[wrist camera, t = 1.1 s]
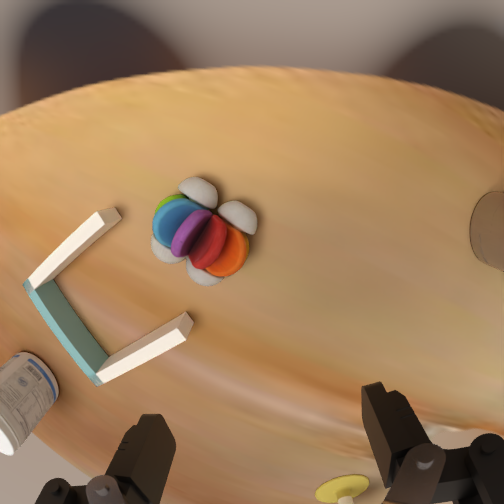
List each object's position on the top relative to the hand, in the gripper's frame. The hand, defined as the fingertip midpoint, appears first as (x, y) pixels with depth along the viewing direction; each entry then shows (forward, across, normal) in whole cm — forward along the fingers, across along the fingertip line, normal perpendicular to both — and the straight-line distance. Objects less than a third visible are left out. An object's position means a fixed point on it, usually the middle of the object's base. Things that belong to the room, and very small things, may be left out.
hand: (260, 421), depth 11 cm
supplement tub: (+21, +38, +10) cm, 44 cm away
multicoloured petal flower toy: (+21, +5, -5) cm, 22 cm away
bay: (+21, +18, 0) cm, 27 cm away
